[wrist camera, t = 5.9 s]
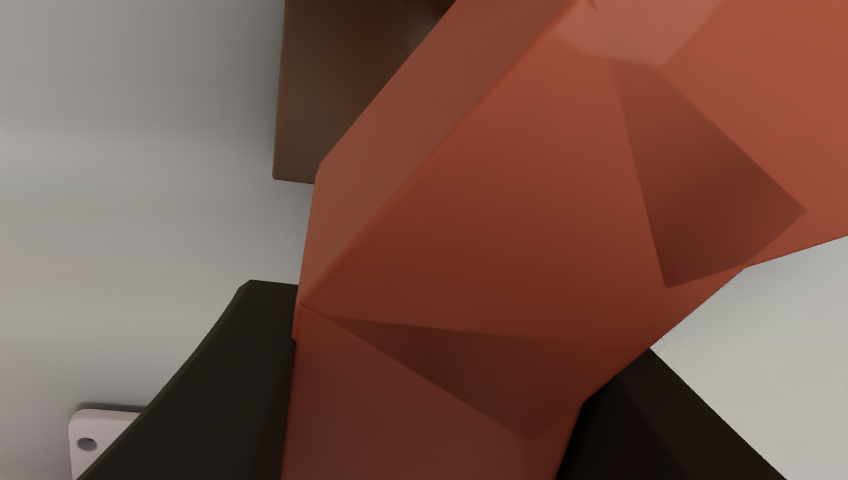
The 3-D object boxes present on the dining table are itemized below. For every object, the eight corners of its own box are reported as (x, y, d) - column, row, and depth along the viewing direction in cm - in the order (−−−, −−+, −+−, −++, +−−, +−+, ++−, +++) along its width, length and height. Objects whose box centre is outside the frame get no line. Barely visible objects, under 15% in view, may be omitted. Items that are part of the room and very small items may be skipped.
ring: (942, 639, 15) (1054, 808, 12) (266, 595, 13) (240, 783, 10) (1534, -59, 8) (2006, 4, 6) (375, -318, 7) (373, -375, 4)
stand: (604, 202, 19) (690, 358, 14) (276, 161, 18) (236, 313, 13) (719, -158, 15) (897, -127, 10) (307, -237, 14) (266, -249, 9)
